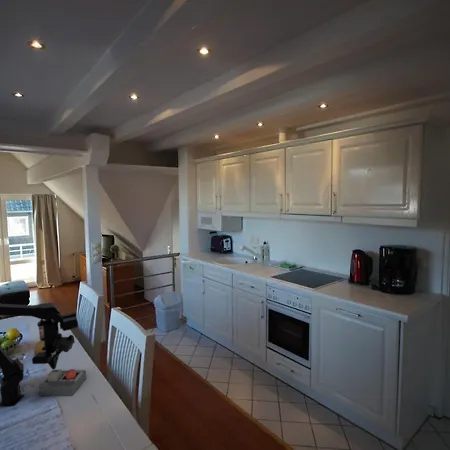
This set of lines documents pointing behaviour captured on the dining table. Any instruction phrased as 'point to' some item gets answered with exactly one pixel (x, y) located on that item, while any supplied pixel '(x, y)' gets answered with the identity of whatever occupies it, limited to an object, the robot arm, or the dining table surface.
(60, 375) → the on key
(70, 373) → the button
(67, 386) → the grey flat box
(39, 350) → the potato
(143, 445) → the dining table surface
